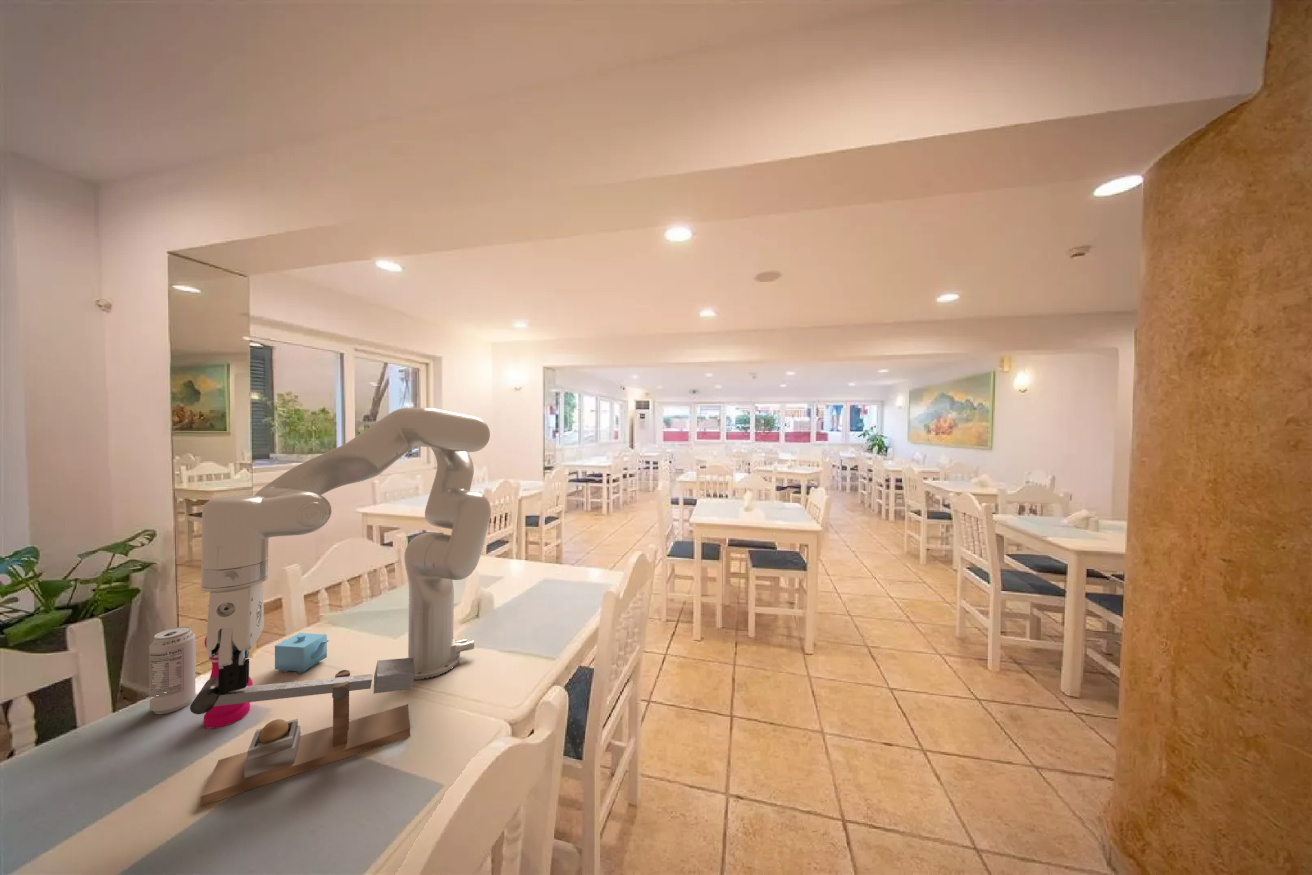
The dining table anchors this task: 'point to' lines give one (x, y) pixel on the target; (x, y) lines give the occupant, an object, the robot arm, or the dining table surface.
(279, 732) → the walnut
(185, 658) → the energy drink can
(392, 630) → the dining table surface
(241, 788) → the stand
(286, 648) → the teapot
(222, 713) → the pepper mill
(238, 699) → the lever
